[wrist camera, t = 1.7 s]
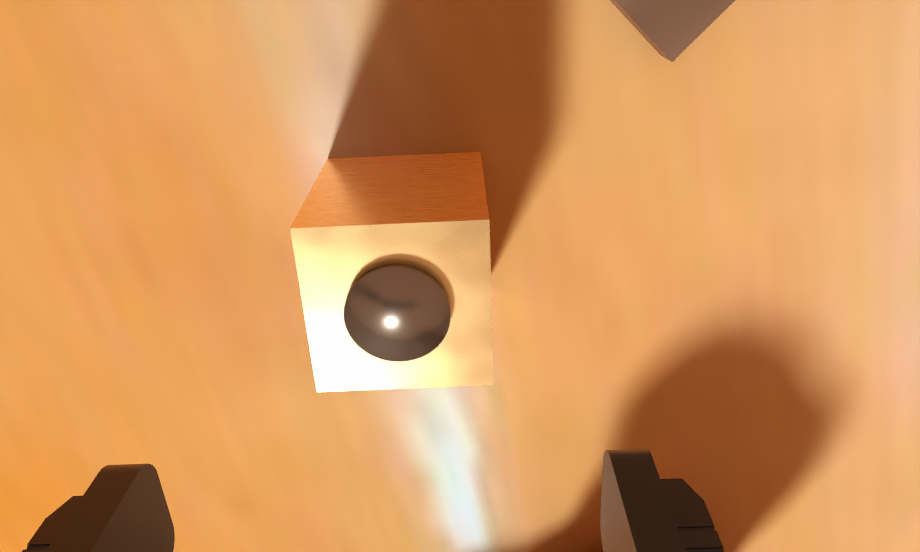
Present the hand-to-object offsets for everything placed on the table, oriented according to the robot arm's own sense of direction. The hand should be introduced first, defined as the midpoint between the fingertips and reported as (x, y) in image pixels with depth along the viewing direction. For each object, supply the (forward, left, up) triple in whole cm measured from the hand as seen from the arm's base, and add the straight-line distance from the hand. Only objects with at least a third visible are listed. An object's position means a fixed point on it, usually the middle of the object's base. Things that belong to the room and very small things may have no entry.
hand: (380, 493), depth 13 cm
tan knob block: (0, 0, -13) cm, 13 cm away
